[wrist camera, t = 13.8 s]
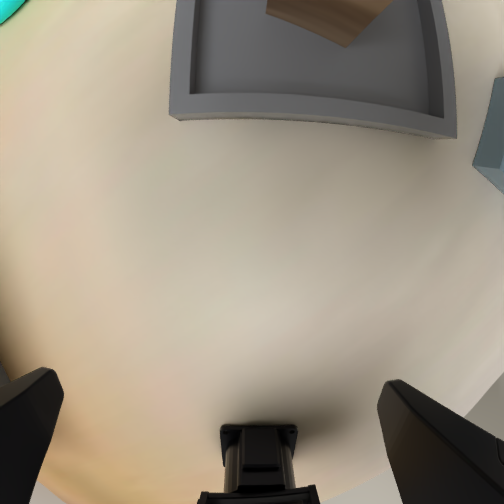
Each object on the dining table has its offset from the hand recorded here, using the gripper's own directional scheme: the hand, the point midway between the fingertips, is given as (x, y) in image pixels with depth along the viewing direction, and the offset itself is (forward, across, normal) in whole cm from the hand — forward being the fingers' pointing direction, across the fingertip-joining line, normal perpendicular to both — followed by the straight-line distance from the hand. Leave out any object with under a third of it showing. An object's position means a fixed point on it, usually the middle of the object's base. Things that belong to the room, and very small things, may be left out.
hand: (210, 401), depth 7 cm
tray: (+12, -5, -16) cm, 21 cm away
